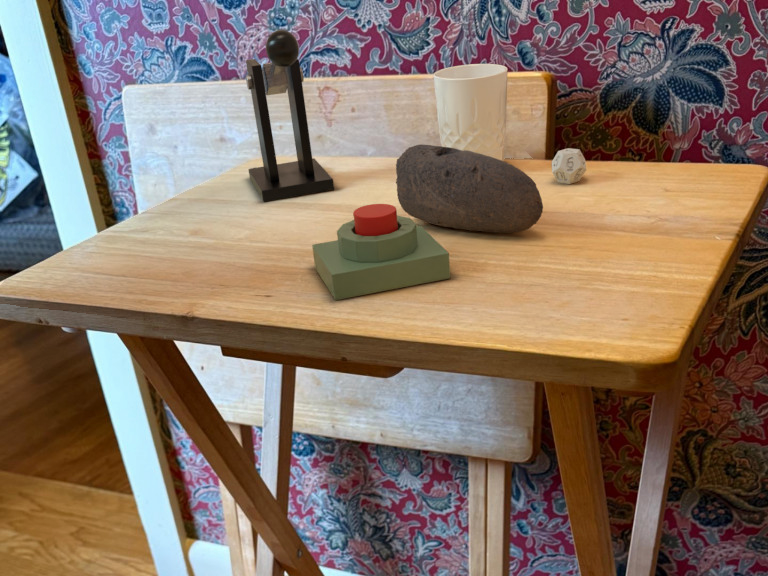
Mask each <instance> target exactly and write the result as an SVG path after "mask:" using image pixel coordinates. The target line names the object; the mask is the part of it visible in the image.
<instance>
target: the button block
mask: <svg viewBox="0 0 768 576" xmlns="http://www.w3.org/2000/svg"><path fill="white" fill-rule="evenodd" d="M397 222H398V230H397V231H395V232H392V233H390V234H385V235H380V236H361V235H357V234H356V233H355V224H354V219H353V220H350V221H348V222H345V223H343V224H342V225H341V226H340V227H339V228H338V229H337V230H336V236H337V240H330V241H326V242H320V243H315V244H314V243H313V244H312V245H311V247H312V253H313V261H314V267H315V268H314V269H315V270H316V272H317V273H318V275H319V277H320V278H321V280H322V282H323V283H324V284H325V286H326V288H327V289H328V291H329V293H330V294H331V296H332V297H333V299H334V300H335V301H340V300H345V299H350V298H354V297H355V298H356V297H359V296H366V295H371V294H375V293H380V292H385V291H392V290H396V289H397V290H398V289H403V288H408V287H413V286H418V285H422V284H428V283H433V282H438V281H444V280H448V279H451V268H450V253H449V252H448V251H447V250H446V249H445V248H444V247H443V246H442V245H441V244H440V242H438V240H436V239H435V238H434V237H433V236H432V235H431V234H430V233H429V232H428V231H427V230H426V229H425V228H424V227H422V226H421V225H417V224H416V222H414V220H413V219H412V218H411V217H407V216H402V215H398V214H397Z"/></svg>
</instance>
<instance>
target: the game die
mask: <svg viewBox="0 0 768 576" xmlns="http://www.w3.org/2000/svg"><path fill="white" fill-rule="evenodd" d="M586 162H587V161H586V159H585V157H584V155H583V153H582V151H581V149H580V148H579V149H578V148H571V147H568V148H564V149H561V150H560V149H559V150H557V152H556V154H555V156H554V157H553V159H552V161H551V163H550V164H551V173H552V174H553V176H554V178H555V180H556V181H557V183H558V184H565V185H571V184H574V183H575V184H576V183H578V182H580V181H581V179H582V178H583V176H584V175H585V173H586V171H587V163H586Z"/></svg>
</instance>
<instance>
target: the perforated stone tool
mask: <svg viewBox="0 0 768 576" xmlns="http://www.w3.org/2000/svg"><path fill="white" fill-rule="evenodd" d="M395 162H396V164H395V173H396V180H395V184H396V193H397V200H398V203H399V205H400V207H401V209H402V210H403V211H404V212H405V213H406V214H408V215H409V216H410V217H412V218H415V219H417V220H420V221H423V222H426V223H429V224H432V225H435V226H438V227H444V228H452V229H458V230H465V231H473V232H475V231H477V232H485V233H495V234H507V233H509V234H511V233H518V232H522V231H527V230H529V229H531V228H532V227H533V226H534V225H536V224H537V223H538V222H539V220H540V219H541V217H542V214H543V210H544V204H543V203H544V202H543V199H542V196H541V193H540V191H539V189H538V187H537V183H536V182H535V181H534V180H533V179H532V178H531V177H530V176H529V175H528V174H527V173H526V172H524V171H523V170H521V169H520V168H518V167H516V166H515V165H513V164H511V163H508V162H506V161H505V160H504V161H502V160H499V159H496V158H493V157H490V156H486V155H483V154H479V153H475V152H472V151H468V150H464V151H462V150H459V149H455V148H449V147H442V146H441V145H431V144H416V145H413V146H410V147H408V148H407V149H405V151H403V153H401V155H400V156H399V157H398V158H396V161H395Z"/></svg>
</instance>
